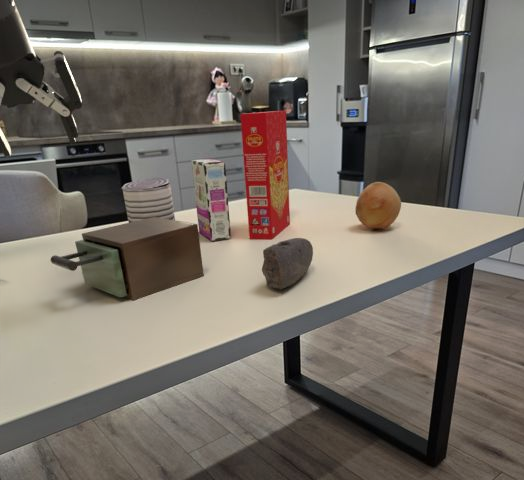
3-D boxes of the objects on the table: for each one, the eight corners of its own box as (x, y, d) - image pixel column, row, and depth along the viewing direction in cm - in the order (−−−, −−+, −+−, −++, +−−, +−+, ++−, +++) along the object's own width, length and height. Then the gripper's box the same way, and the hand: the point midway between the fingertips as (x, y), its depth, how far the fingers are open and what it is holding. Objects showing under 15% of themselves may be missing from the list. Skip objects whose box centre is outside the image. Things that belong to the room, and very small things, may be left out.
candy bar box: (232, 238, 108) (226, 160, 100) (211, 242, 106) (203, 163, 99) (218, 229, 117) (211, 157, 110) (198, 232, 116) (189, 159, 108)
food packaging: (272, 239, 105) (265, 112, 94) (249, 238, 107) (240, 114, 96) (289, 224, 118) (285, 110, 106) (269, 223, 119) (263, 112, 108)
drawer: (86, 308, 71) (74, 261, 68) (52, 293, 78) (40, 249, 75) (188, 274, 83) (182, 232, 80) (151, 264, 90) (144, 225, 87)
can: (186, 229, 119) (179, 178, 114) (149, 239, 112) (140, 186, 107) (157, 224, 126) (149, 177, 121) (121, 234, 119) (111, 183, 113)
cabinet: (132, 300, 76) (121, 243, 71) (93, 285, 84) (81, 233, 80) (203, 275, 85) (197, 224, 81) (162, 264, 93) (154, 216, 89)
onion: (408, 230, 105) (411, 182, 100) (365, 235, 103) (367, 187, 98) (387, 222, 113) (390, 177, 109) (348, 226, 111) (349, 181, 107)
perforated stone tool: (297, 265, 87) (296, 227, 83) (324, 269, 84) (324, 229, 81) (254, 293, 75) (251, 249, 72) (283, 297, 73) (281, 252, 70)
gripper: (43, -16, 54) (90, 121, 68) (-90, 5, 52) (-14, 142, 66) (48, 10, 50) (97, 150, 64) (-96, 34, 48) (-14, 174, 61)
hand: (40, 146), depth 65 cm, fingers open, 8 cm apart
